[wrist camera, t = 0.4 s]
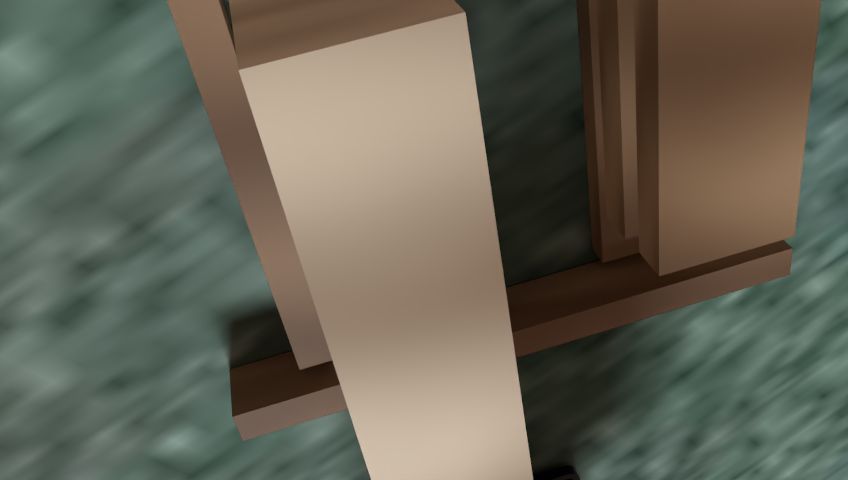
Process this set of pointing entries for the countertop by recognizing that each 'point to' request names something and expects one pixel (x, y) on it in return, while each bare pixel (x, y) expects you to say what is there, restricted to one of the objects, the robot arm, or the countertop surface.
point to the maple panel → (392, 224)
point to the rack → (310, 359)
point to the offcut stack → (694, 124)
